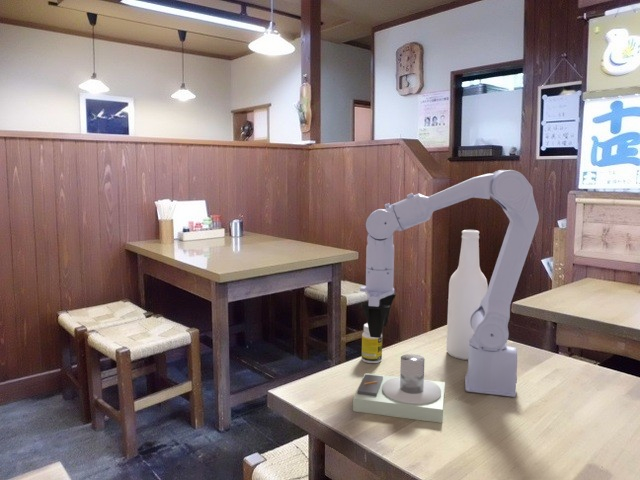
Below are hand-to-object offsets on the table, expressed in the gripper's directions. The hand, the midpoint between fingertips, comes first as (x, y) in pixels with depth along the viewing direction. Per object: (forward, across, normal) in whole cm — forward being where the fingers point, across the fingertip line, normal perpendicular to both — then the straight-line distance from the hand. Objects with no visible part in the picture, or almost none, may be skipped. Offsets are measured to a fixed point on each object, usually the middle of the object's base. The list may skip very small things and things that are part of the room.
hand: (378, 331), depth 107 cm
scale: (+10, +10, +6) cm, 16 cm away
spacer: (+7, +10, +8) cm, 15 cm away
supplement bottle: (+11, -10, -3) cm, 15 cm away
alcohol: (+11, -20, +18) cm, 29 cm away
